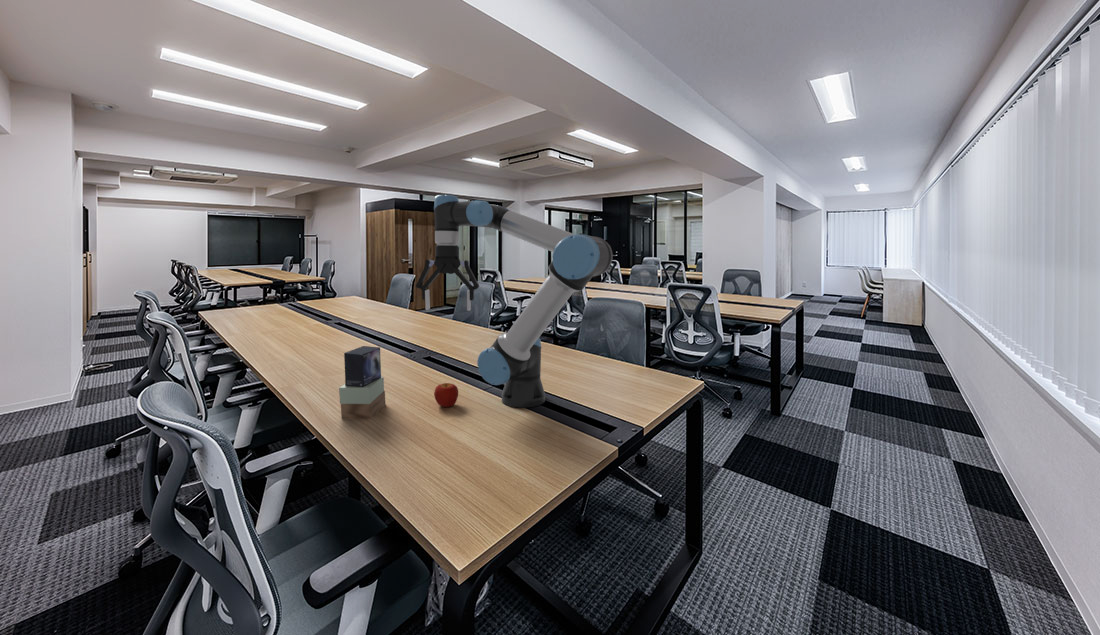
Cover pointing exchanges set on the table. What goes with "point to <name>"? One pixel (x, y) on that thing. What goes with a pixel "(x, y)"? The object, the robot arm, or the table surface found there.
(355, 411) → the tower base
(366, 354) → the small box
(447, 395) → the apple
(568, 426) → the table surface
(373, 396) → the tower top
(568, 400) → the table surface
